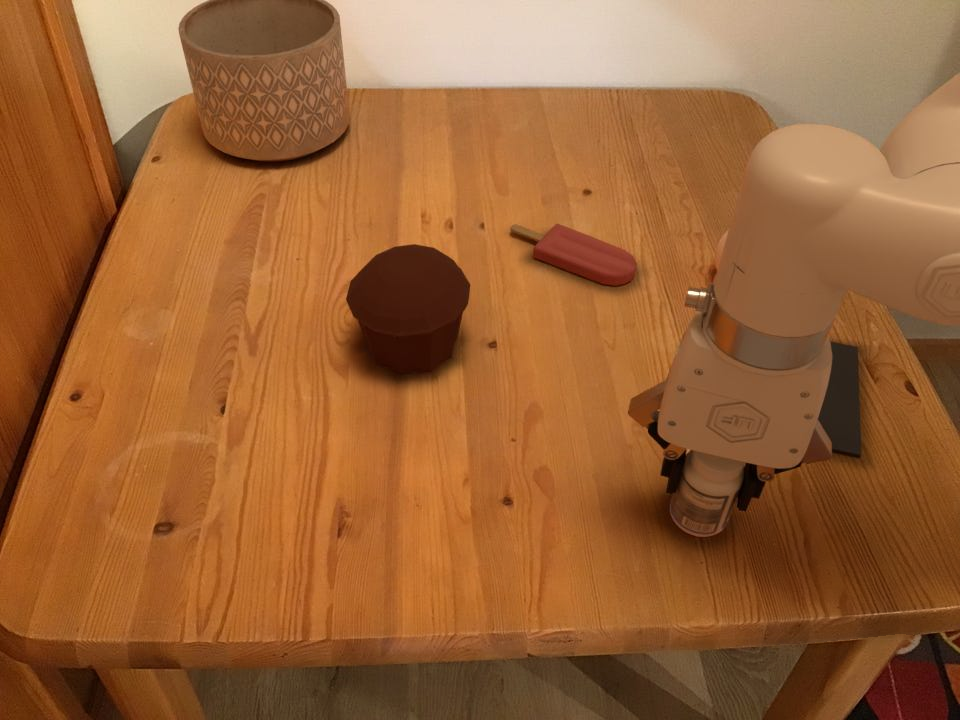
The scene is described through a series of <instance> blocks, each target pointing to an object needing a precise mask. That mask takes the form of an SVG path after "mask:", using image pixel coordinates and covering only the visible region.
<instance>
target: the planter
mask: <svg viewBox="0 0 960 720" xmlns="http://www.w3.org/2000/svg"><path fill="white" fill-rule="evenodd" d="M340 17H341V16H340V14H339V12H338V10H337V9H336V8H335V7H334V5H333V4H331V3H330V2H328V1H327V0H206V1H204V2H202V3H199V4H198V5H196V6H195V7H193V8H192V9H190V10H189V11H187V12H186V13H185V15H183V17H182V18H181V20H180V22H179V24H178V27H177V29H178V36H179V39H180V43H181V46H182V51H183V56H184V60H185V64H186V68H187V73H188V76H189V80H190V85H191V89H192V93H193V97H194V101H195V105H196V110H197V113H198V117H199V121H200V126H201V131H202V134H203V136H204V138H205V139H206V141H207V142H208V143H209V144H210V145H211V146H212V147H214V148H215V149H217V150H218V151H221V152H223V153H224V154H227V155H230V156H233V157H236V158H242V159H246V160H251V161H254V162H255V161H258V162H269V163H270V162H271V163H272V162H273V163H274V162H286V161H291V160H292V161H293V160H297V159H300V158H303V157H307V156H310V155H312V154H314V153H316V152H318V151H319V150H322V149H324V148H326V147H328V146H330V145H331V144H333V143H334V142H335V141H337V140H338V139H339V138H340V137H342V135H343V134H344V133H345V132H346V130H347V128H348V127H349V124H350V120H351V115H350V107H349V106H350V105H349V95H348V87H347V74H346V66H345V65H346V64H345V56H344V48H343V47H344V46H343V36H342V26H341V18H340Z"/></svg>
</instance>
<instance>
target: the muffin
mask: <svg viewBox="0 0 960 720" xmlns="http://www.w3.org/2000/svg"><path fill="white" fill-rule="evenodd" d="M347 289H348V290H347V293H346V297H345V301H346V303H347V305H348V308H349V310H350V312H351V314H352V317H353V318H354V319H355V320H357V323H358V326H359V328H360V331H361V335H362V337H363V341H364V343H365V346H366V348H367V349H368V351H369V352H370V354H371V355H372V358H373V361H374V362H375V365H377V366H379V367H382V368H384V369H385V368H386V369H387V370H391V371H392V372H395V373H397V374H398V375H399V376H403V375H409V374H416V373H417V374H418V373H420V374H421V373H423V374H424V373H432V372H433V371H434V370H435V369H437V368H438V367H439V366H441V365H442V364H444V363H446V362H448V361H450V360H452V359H453V353H454V350H455V345H456V343H457V341H458V337H459V334H460V328H461V324H462V320H463V319H462V318H463V314H464V311H465V310H466V309H467V307H468V305H469V302H470V301H469V300H470V291H471V283H470V281H469V280H468V278H467V277H466V274H465V273H464V271H463V270H462V268H461V267H459V265H458V264H457V262H456V261H455V260H454V259H453V258H452V257H450V255H447V254H445V253H444V252H442V251H441V250H439V249H437V248H436V247H434V246H433V247H432V246H426V245H421V244H416V243H415V244H406V245H405V244H404V245H397V246H393V247H391V248H389V249H386V250H384V251H381V252H380V253H377V254H375V255H374V256H373V257H372V258H371V259H370V260H369V261H368V262H367V263H366V264H365V265H364V266H363V267H362V268H361V269H360V270H359V271H358V272H357V273H356V275H355V276H354V277H353V278H352V279H351V280H350V281H349V287H348V288H347Z"/></svg>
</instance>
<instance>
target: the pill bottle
mask: <svg viewBox="0 0 960 720" xmlns="http://www.w3.org/2000/svg"><path fill="white" fill-rule="evenodd" d="M745 463H746V462H742V461H737V460H733V459H728V458H724V457H719V456H715V455H711V454H707V453H702V452H698V451H694V450H690V449H689V451H688V452H686V457H685V463H684V468H683V471H682V474H681V477H680V480H679V484H678V487H677V490H676V493H673V494H672V496H671V500H670V504H669V513H670V516H671V519H672V521H673V522H674V523H675V525H676V526H677V527H678V528H679V529H680V530H682V531H683V532H684V533H687V534H689V535H691V536H695V537H699V538H708V537H712V536H716V535H718V534H719V533H720V532H722V531H723V530H724V529H725V527H726V526H727V525H728V523H729V520H730V517H731V514H732V512H733V509H734V506H735V504H736V503H737V497H738V494H739V492H740V489H741V487H742V484H743V481H744V469H743V468H744V466H745Z"/></svg>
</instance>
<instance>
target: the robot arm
mask: <svg viewBox="0 0 960 720" xmlns="http://www.w3.org/2000/svg"><path fill="white" fill-rule="evenodd" d="M727 231H728V234H727V238H726V241H725V245H724V248H723V252H722V255H721V259H720V262H719V266H718V270H717V269H716V273H715V274H714V276H713V280H712V283H708V284H707V286H706V287H705V286H700V288H699V287H694V286H693V287H692V286H688V288H687V292H686V296H685V300H684V305H683V306H684V307H685V308H689V309H690V308H691V309H695V314H694V315H693V317H692V319H691V320H690V321H689V324H688V325H687V327H686V329H685V331H684V333H683V335H682V338H680V339H681V340H680V342H679V344H678V346H677V348H676V352H675V354H674V356H673V360H672V362H671V365H670V368H669V370H668V374H667V376H666V379H664V380H663V381H661V382H659V383H657V384H655V385H654V386H652V387H650V388H648V389H646V390H644V391H643V392H640V393H639V394H637V395H635V396H633V397H632V398H630V401H629V405H628V410H627V414H628V416H629V417H630V418H631V419H633V420H634V421H635V422H636V423H638V425H640V426H641V427H642V428H645V429H646V430H647V434H649V436H650V437H651V438H652V439H653V440H654V441H655V443H657V445H659V446H660V447H661V448H662V449H663V453H662V454H663V459H662V465H661V470H660V475H659V476H660V477H663V478H664V477H665V478H667V484H666V489H665V490H666V491H665V493H666V494H669V495H673V493H676V490H677V487H678V484H679V480H680V477H681V474H682V471H683V468H684V463H685V457H686V454H687V450H689V451H690V450H694V451H698V452H702V453H707V454H711V455H715V456H719V457H724V458H728V459H733V460H737V461H742V462H745V464H744V467H743V469H744V481H743V484H742V487H741V489H740V492H739V494H738V497H737V499H736V509H738V511H739V512H744V513H746V512H747V510H748V508H749V505H750V504H751V501H752V499H753V498H754V499H756V500H757V499H758V500H760V497H761V495H762V492H763V490H764V488H765V486H766V483H771V482H773V481H774V480H775V476H776V475H778V474H781V473H786V472H788V471H791V470H795V469H799V468H801V467H802V465H803V464H805V465H809V464H814V463H819V462H820V463H821V462H824V461H825V462H826V461H829V460H831V459H832V457H833V452H832V442H831V440H830V439H829V437H828V435H827V434H826V432H825V430H824V429H823V427H822V426H821V424H820V422H819V421H818V417H819V414H820V410H821V407H822V404H823V401H824V397H825V394H826V390H827V386H828V382H829V377H830V373H831V366H832V350H831V343H830V342H831V340H830V337H829V334H830V332H831V330H832V327H833V325H834V322H835V320H836V317H837V315H838V313H839V310H840V308H841V305H842V303H843V301H844V299H845V297H846V295H847V292H848V291H849V292H850V293H853V294H856V295H858V296H861V297H863V298H866V299H868V300H871V301H873V302H875V303H878V304H880V305H882V306H885V307H886V308H890V309H892V310H895V311H896V312H898V313H902V314H903V315H907V316H910V317H913V318H916V319H918V320H922V321H925V322H928V323H931V324H936V325H941V326H950V327H958V328H959V327H960V71H959V72H957V74H955V75H954V76H953V77H951V78H950V79H949V80H947V81H946V82H945V83H943V84H942V85H941V86H940V87H938V88H937V89H936V90H934V91H933V92H931V94H930V95H928V96H927V97H926V98H924V99H923V100H922V101H921V102H920V103H919V104H917V105H916V106H914V108H913V109H912V110H911V111H909V112H908V114H906V115H905V116H904V117H903V118H902V119H901V120H900V121H899V122H898V123H897V125H896V126H895V127H894V128H893V129H892V131H891V132H890V133H889V134H888V136H886V139H885V140H884V142H883V143H882V145H881V147H880V149H878V148H877V147H876V146H875V145H874V144H873V143H872V142H870V141H869V140H867V139H866V138H864V137H863V136H861V135H859V134H857V133H855V132H852V131H850V130H848V129H844V128H841V127H838V126H833V125H828V124H820V123H796V124H790V125H786V126H783V127H780V128H777V129H774V130H773V131H771V132H770V133H768V134H767V135H765V136H764V137H763V138H761V140H760V141H759V142H758V143H757V144H756V145H755V146H754V148H753V150H752V151H751V153H750V155H749V158H748V160H747V164H746V167H745V169H744V173H743V177H742V180H741V184H740V188H739V191H738V195H737V199H736V202H735V206H734V210H733V212H732V216H731V220H730V224H729V227H728V229H727Z"/></svg>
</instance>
